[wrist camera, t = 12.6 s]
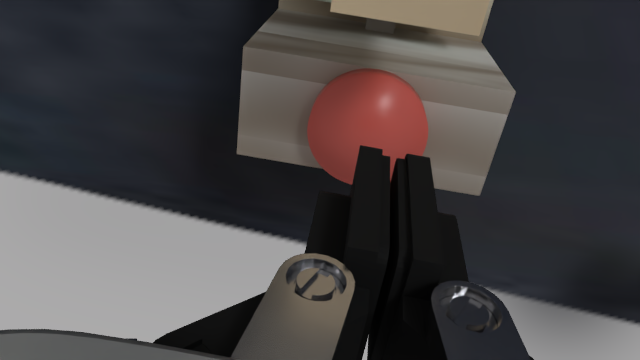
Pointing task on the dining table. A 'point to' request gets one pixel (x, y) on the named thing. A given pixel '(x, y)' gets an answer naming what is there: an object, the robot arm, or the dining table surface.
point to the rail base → (377, 53)
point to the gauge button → (365, 120)
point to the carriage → (420, 12)
